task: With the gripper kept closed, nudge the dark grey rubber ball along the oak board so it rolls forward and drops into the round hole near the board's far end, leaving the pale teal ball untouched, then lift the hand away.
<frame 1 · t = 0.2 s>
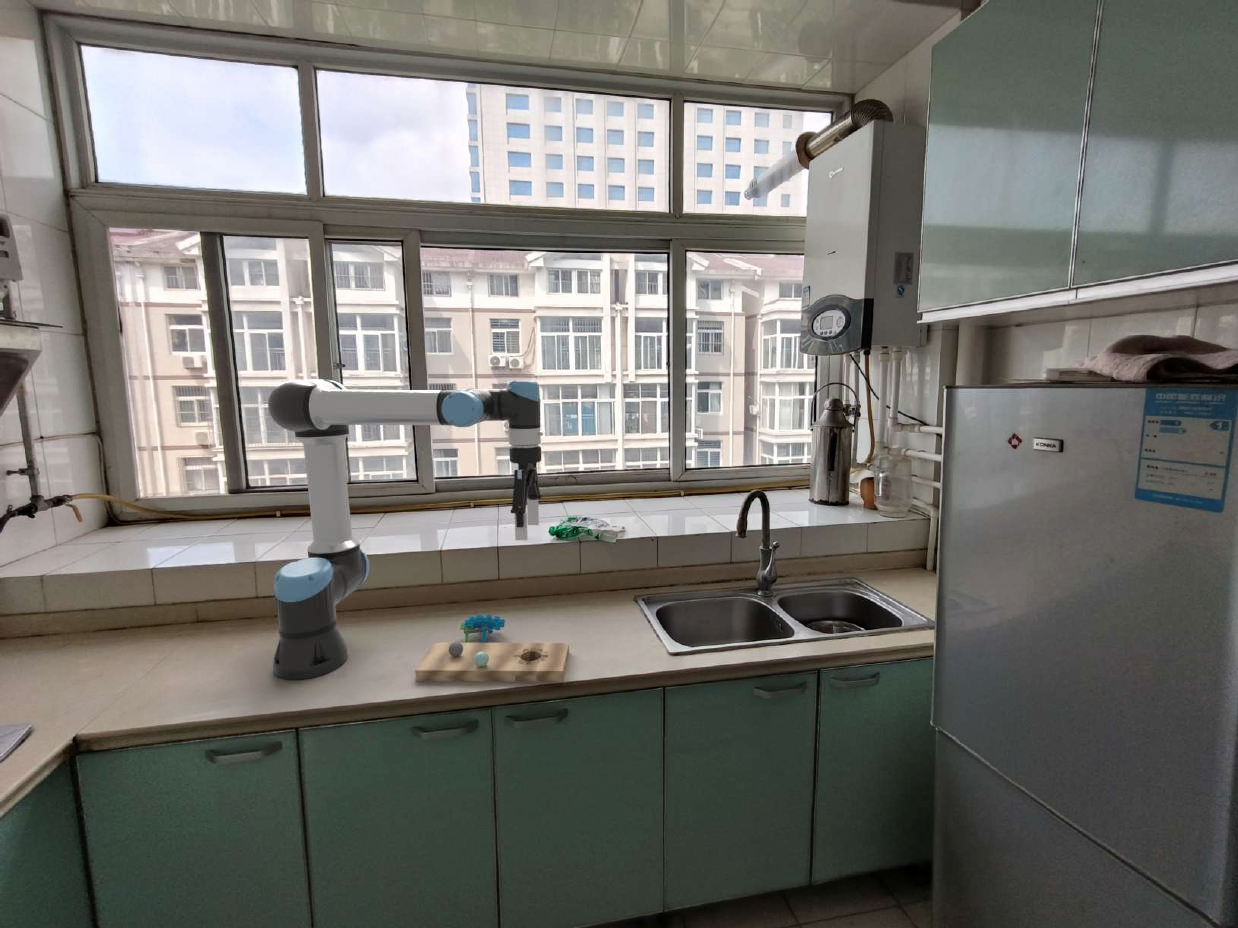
hand: (527, 532, 140), 28 cm above the countertop, fingers open, 13 cm apart
board: (496, 666, 131), on the countertop
grey ball: (455, 649, 130), point 4 cm above the countertop, touching board
gear: (483, 638, 145), on the countertop
teal ball: (481, 659, 126), point 4 cm above the countertop, touching board
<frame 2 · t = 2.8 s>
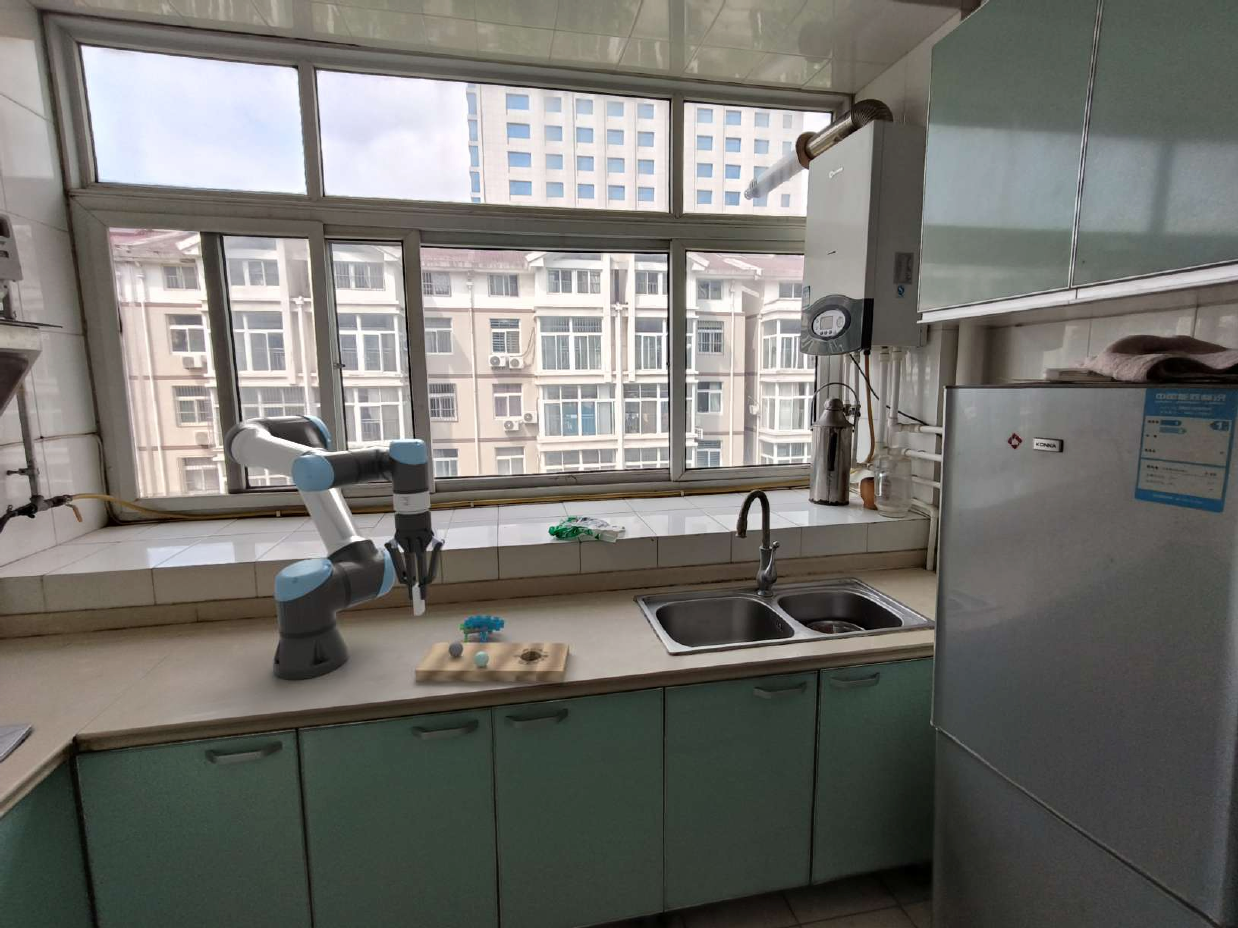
hand: (419, 612, 129), 13 cm above the countertop, fingers closed
nothing on the countertop moved.
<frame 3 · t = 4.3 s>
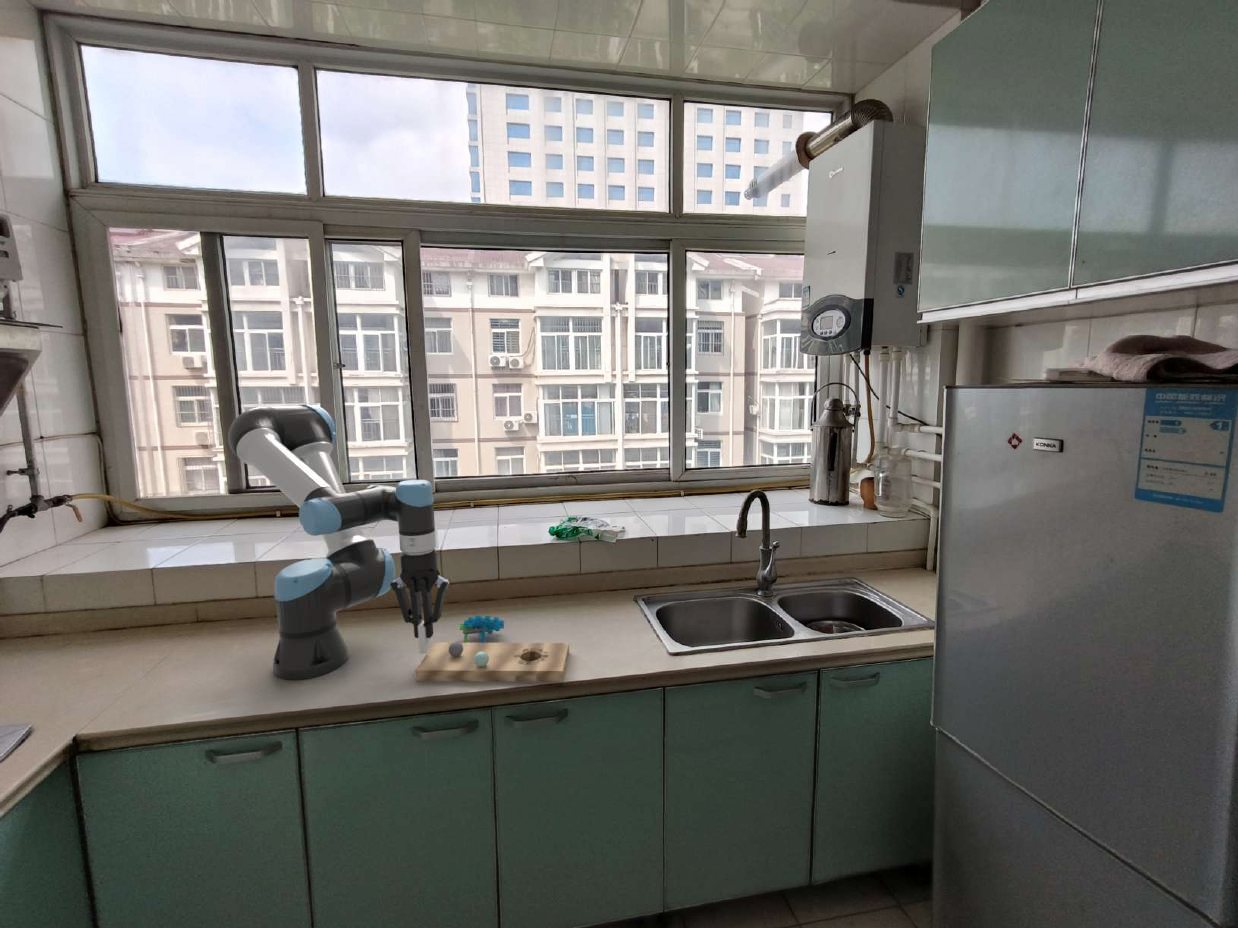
hand: (424, 650, 130), 4 cm above the countertop, fingers closed
nothing on the countertop moved.
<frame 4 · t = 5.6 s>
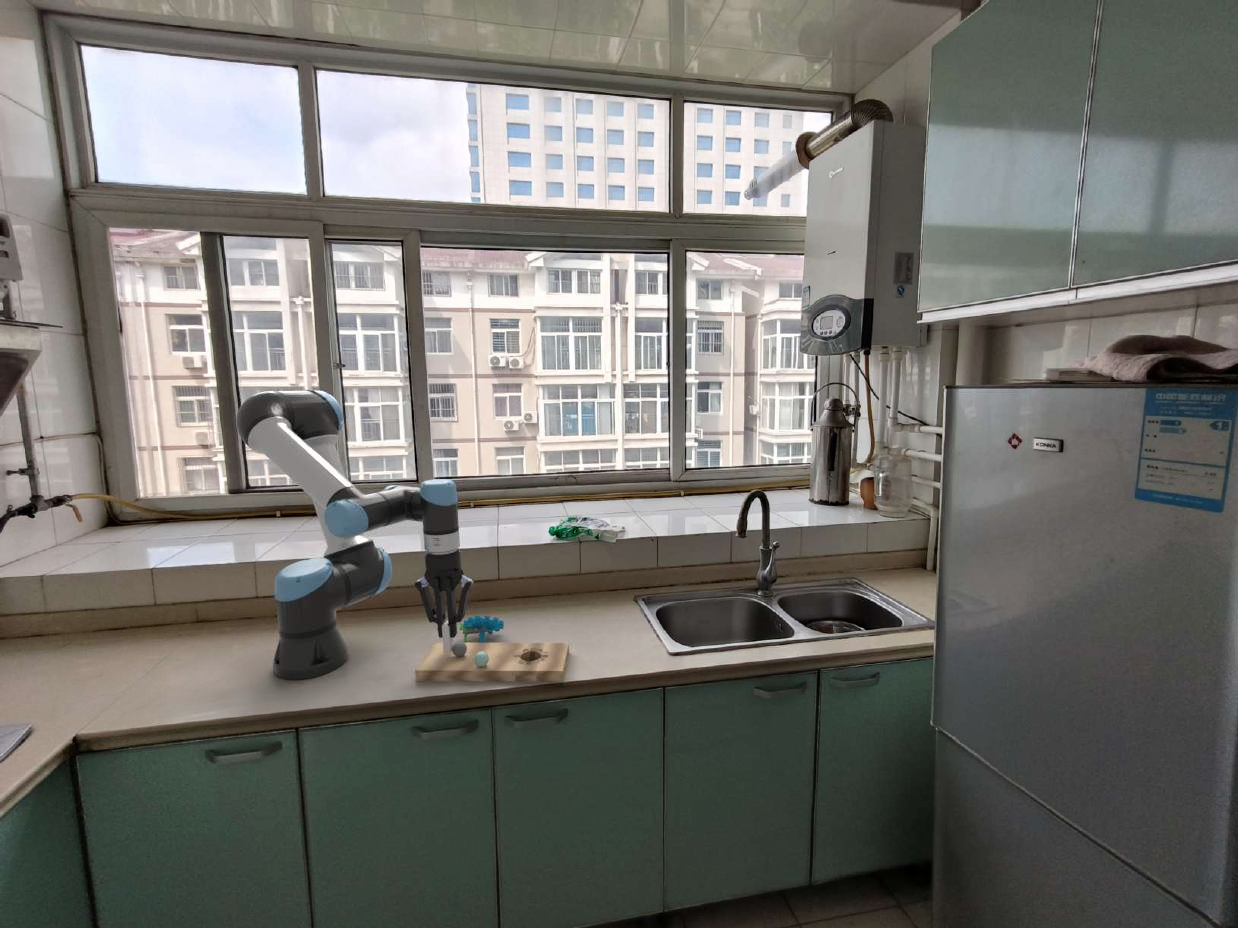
hand: (448, 650, 130), 4 cm above the countertop, fingers closed
grey ball: (459, 649, 130), point 4 cm above the countertop, tilted 28°, touching board
everything else where it was.
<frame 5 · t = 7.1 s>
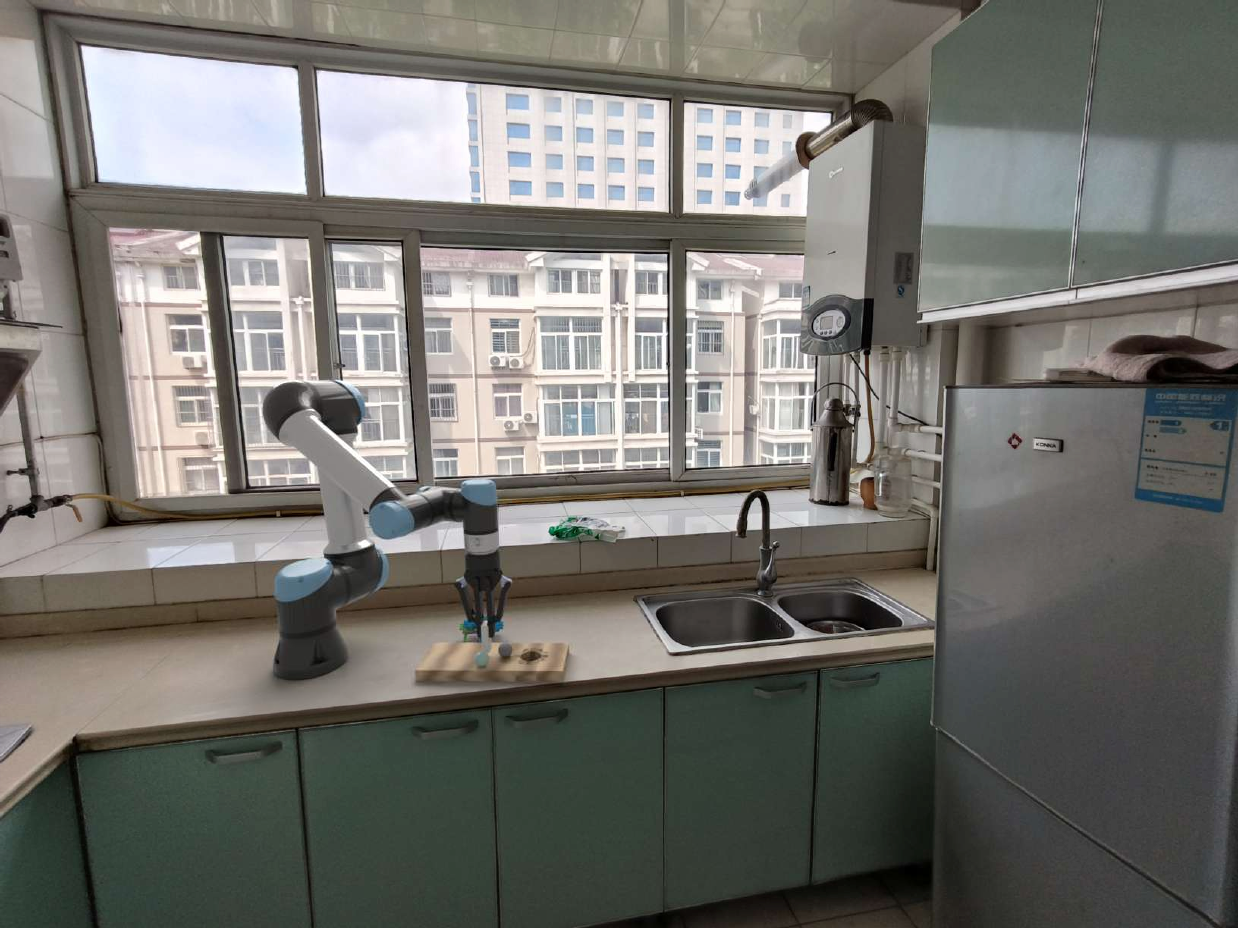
hand: (487, 650, 130), 4 cm above the countertop, fingers closed
grey ball: (505, 649, 130), point 4 cm above the countertop, tilted 43°, touching board
everything else where it was.
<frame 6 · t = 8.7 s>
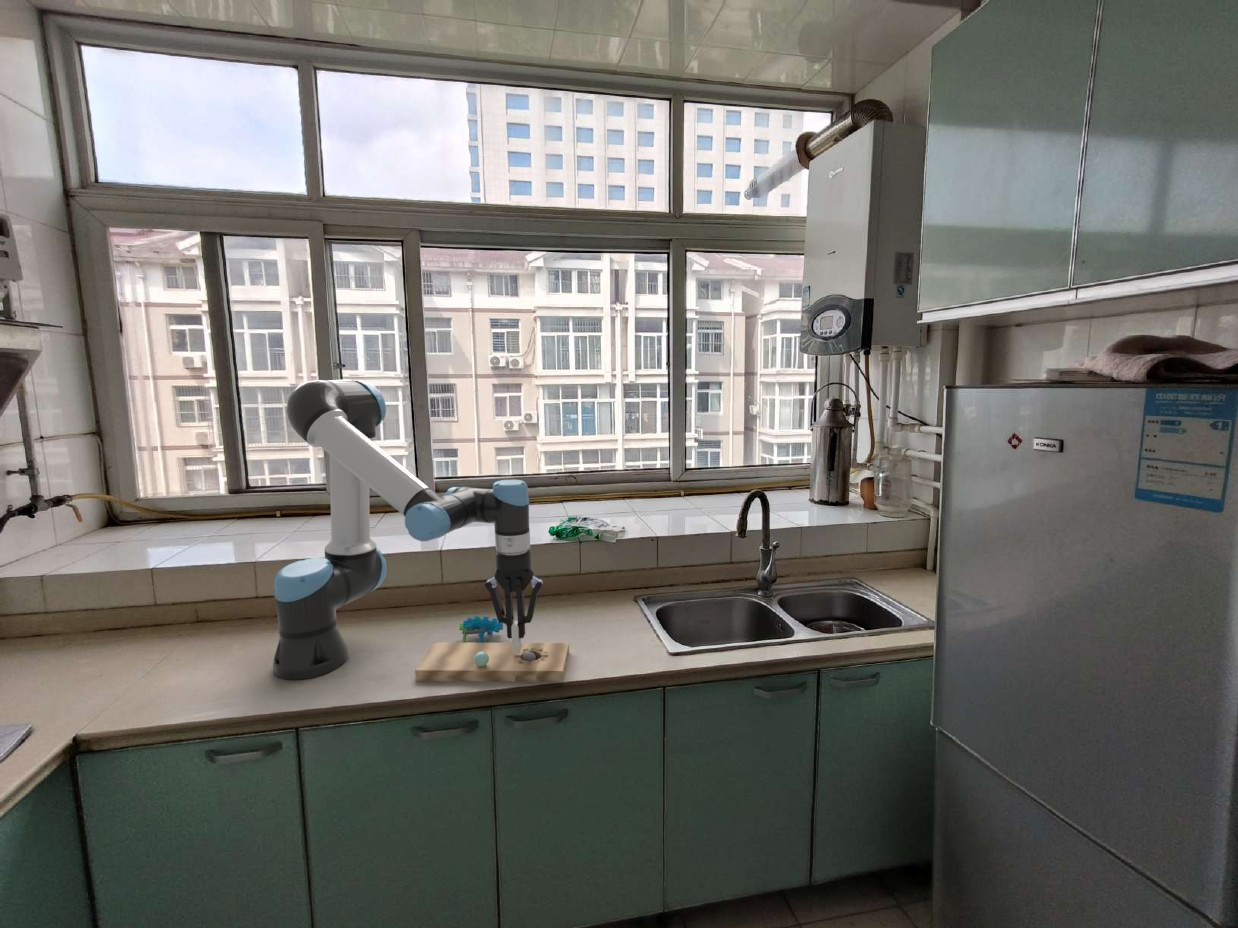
hand: (516, 650, 130), 4 cm above the countertop, fingers closed
grey ball: (529, 658, 131), point 2 cm above the countertop, tilted 110°
everything else where it was.
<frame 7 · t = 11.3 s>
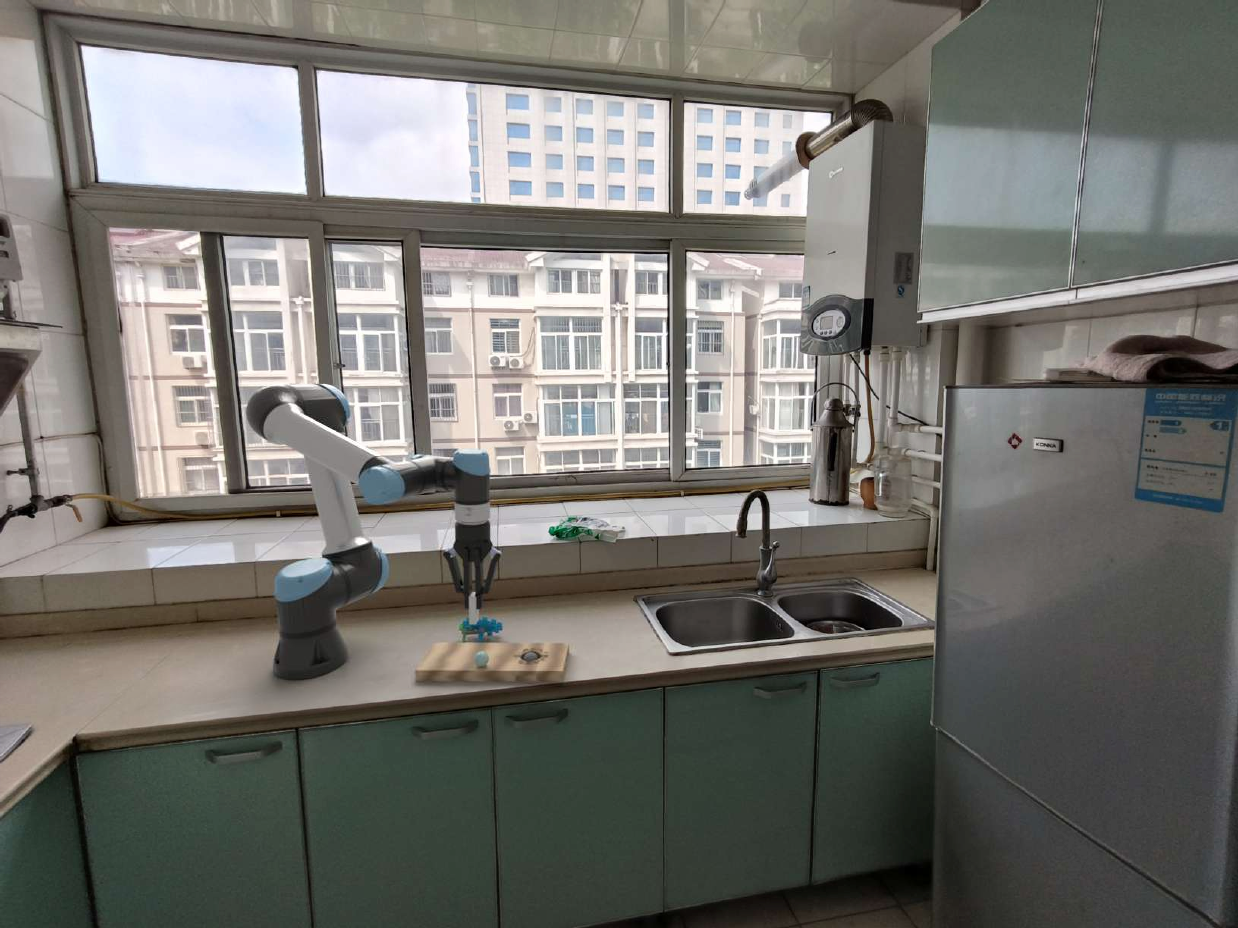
hand: (474, 621, 130), 11 cm above the countertop, fingers closed
grey ball: (530, 659, 131), point 2 cm above the countertop, tilted 95°
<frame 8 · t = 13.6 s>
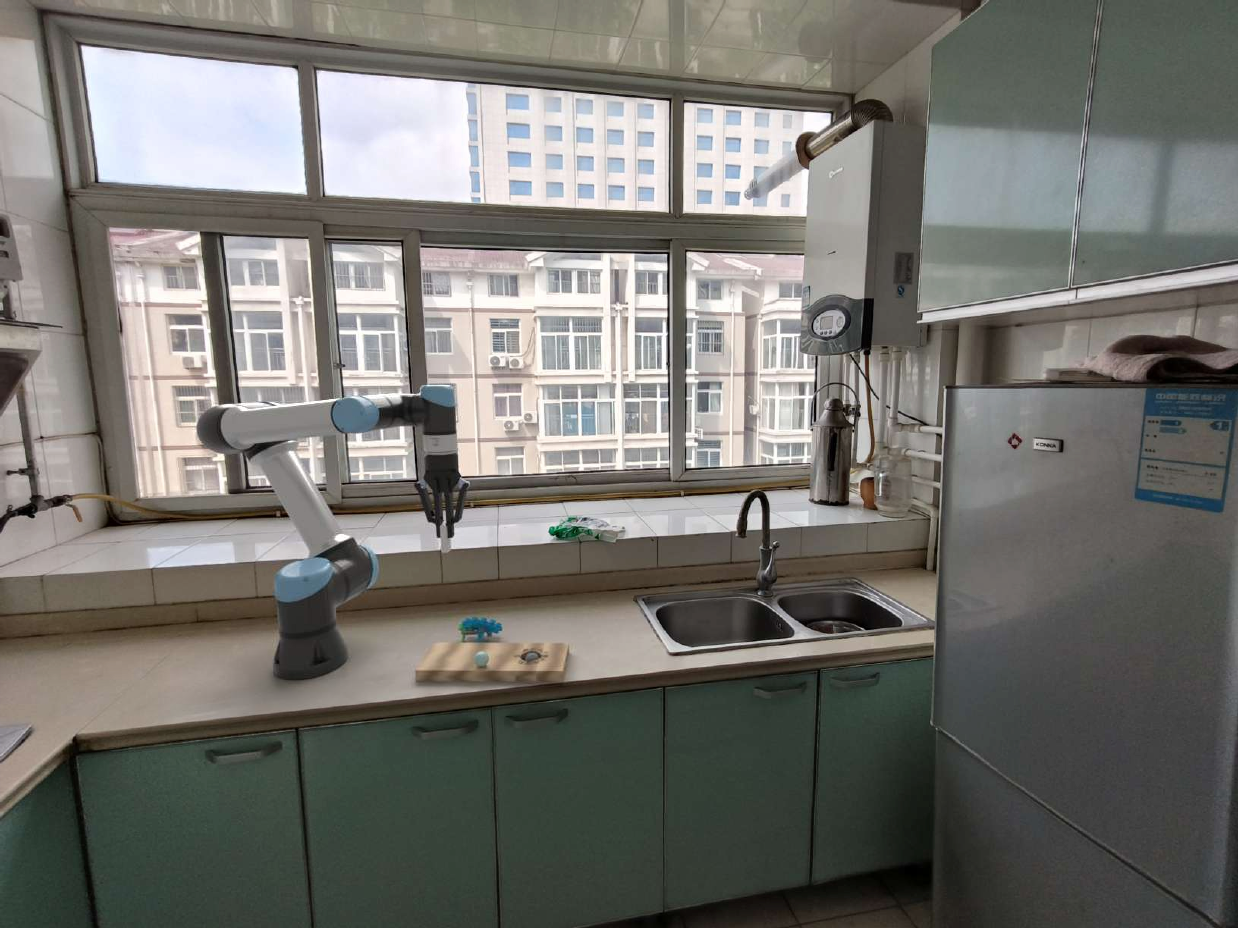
hand: (446, 550, 136), 24 cm above the countertop, fingers closed
grey ball: (532, 659, 130), point 2 cm above the countertop, tilted 81°
at the end: grey ball 0.3 cm from the target spot in the board, point 1.6 cm above the board's base; teal ball moved 0.0 cm from its start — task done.
